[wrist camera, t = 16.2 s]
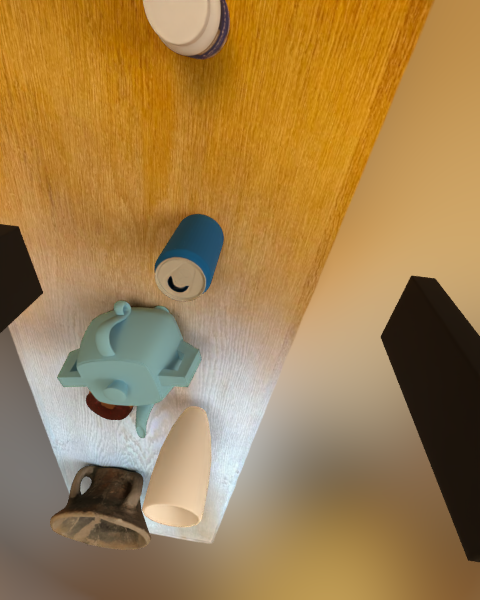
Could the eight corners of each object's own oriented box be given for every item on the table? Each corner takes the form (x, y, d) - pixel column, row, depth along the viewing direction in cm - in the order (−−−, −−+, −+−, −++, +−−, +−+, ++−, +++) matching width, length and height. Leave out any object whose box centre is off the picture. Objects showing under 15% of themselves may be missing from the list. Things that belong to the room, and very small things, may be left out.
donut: (83, 380, 65) (73, 395, 62) (126, 379, 64) (118, 395, 61) (102, 408, 71) (94, 423, 68) (141, 408, 70) (135, 424, 67)
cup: (164, 395, 66) (125, 508, 49) (200, 379, 62) (171, 497, 44) (196, 419, 70) (171, 531, 53) (232, 406, 66) (216, 523, 49)
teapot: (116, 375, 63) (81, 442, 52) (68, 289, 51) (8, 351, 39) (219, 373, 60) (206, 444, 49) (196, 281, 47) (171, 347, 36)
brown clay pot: (163, 501, 101) (148, 558, 89) (83, 487, 100) (58, 543, 88) (167, 464, 85) (149, 528, 73) (72, 447, 84) (39, 509, 72)
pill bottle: (220, 69, 31) (202, 67, 23) (167, 46, 31) (129, 35, 23) (238, -5, 28) (224, -37, 20) (179, -33, 27) (139, -77, 19)
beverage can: (171, 239, 43) (141, 285, 34) (192, 202, 40) (166, 242, 30) (209, 262, 45) (192, 313, 36) (233, 229, 42) (220, 275, 32)
